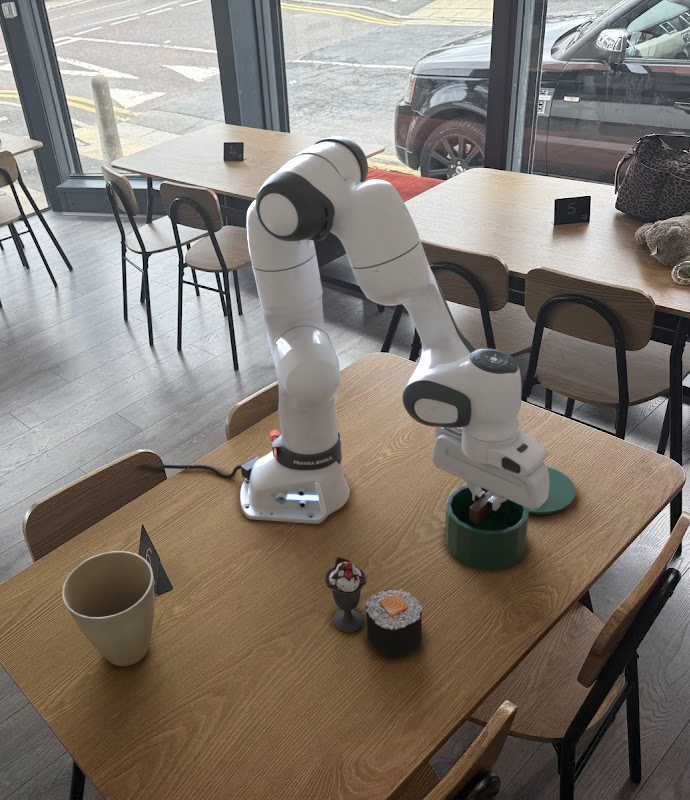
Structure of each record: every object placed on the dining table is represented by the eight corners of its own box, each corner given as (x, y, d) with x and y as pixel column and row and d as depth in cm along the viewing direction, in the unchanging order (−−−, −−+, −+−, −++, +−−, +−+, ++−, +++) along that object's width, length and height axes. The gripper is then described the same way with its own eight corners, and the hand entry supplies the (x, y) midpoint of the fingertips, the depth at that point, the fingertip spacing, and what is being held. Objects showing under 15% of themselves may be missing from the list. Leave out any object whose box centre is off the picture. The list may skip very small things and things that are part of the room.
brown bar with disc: (481, 527, 136) (482, 514, 134) (464, 518, 138) (464, 505, 136) (511, 499, 140) (512, 486, 138) (494, 492, 142) (495, 479, 141)
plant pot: (178, 618, 139) (163, 552, 130) (156, 689, 127) (137, 622, 118) (100, 612, 143) (80, 548, 134) (71, 680, 131) (47, 614, 122)
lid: (504, 519, 148) (505, 500, 145) (485, 471, 160) (486, 452, 157) (585, 514, 146) (589, 494, 143) (561, 466, 158) (563, 447, 155)
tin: (453, 571, 139) (455, 535, 134) (439, 519, 150) (440, 485, 146) (534, 567, 137) (538, 531, 132) (513, 515, 148) (516, 480, 144)
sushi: (358, 631, 131) (356, 597, 127) (401, 612, 133) (401, 578, 129) (386, 666, 124) (385, 632, 120) (430, 645, 126) (431, 611, 122)
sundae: (359, 642, 129) (356, 576, 121) (322, 628, 132) (316, 564, 124) (374, 613, 133) (372, 548, 125) (337, 601, 137) (333, 537, 129)
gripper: (425, 427, 136) (425, 489, 143) (536, 473, 122) (530, 539, 129) (446, 411, 139) (446, 472, 146) (557, 453, 125) (550, 519, 132)
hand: (486, 504), depth 138 cm, fingers closed on brown bar with disc
